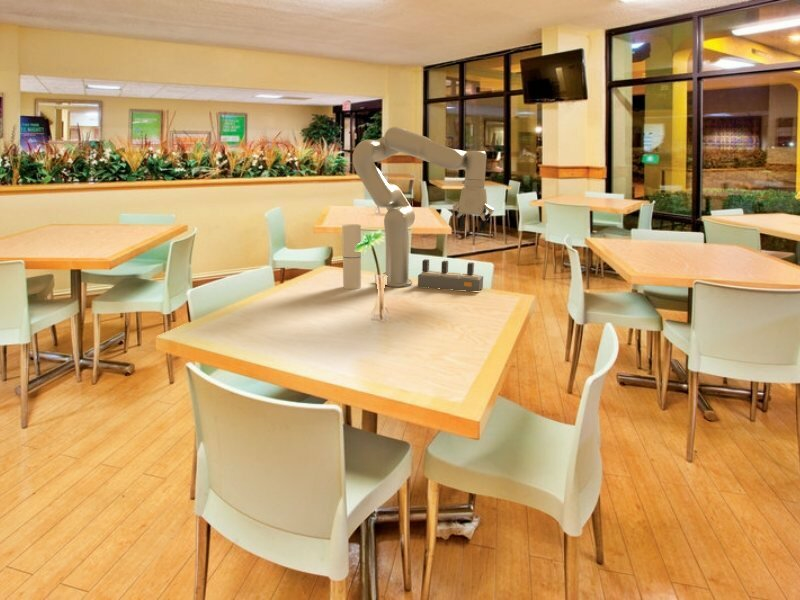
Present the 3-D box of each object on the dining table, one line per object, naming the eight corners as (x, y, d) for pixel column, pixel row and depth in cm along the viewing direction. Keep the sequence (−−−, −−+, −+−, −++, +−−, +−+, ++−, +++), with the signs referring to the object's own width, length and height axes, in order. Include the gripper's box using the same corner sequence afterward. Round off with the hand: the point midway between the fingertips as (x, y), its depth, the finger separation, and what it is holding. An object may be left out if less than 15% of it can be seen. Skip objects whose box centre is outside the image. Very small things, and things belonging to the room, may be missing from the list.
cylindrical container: (345, 289, 216) (344, 226, 210) (342, 285, 223) (340, 224, 217) (362, 288, 218) (362, 226, 212) (359, 284, 225) (358, 224, 218)
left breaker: (422, 271, 221) (422, 260, 220) (424, 269, 224) (424, 259, 223) (427, 271, 221) (427, 260, 220) (429, 270, 223) (429, 259, 222)
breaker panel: (417, 287, 221) (417, 272, 219) (423, 283, 228) (423, 269, 227) (478, 292, 213) (479, 277, 211) (482, 288, 221) (483, 273, 219)
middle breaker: (441, 272, 219) (441, 261, 218) (443, 271, 222) (443, 260, 221) (446, 273, 218) (446, 262, 217) (448, 271, 221) (448, 260, 220)
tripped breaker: (467, 274, 216) (467, 263, 215) (468, 273, 218) (469, 262, 217) (472, 275, 215) (472, 264, 214) (473, 273, 218) (474, 262, 217)
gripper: (449, 183, 209) (447, 227, 214) (490, 186, 200) (487, 232, 204) (459, 182, 215) (457, 226, 220) (499, 185, 206) (496, 230, 210)
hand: (471, 229), depth 212 cm, fingers open, 9 cm apart
